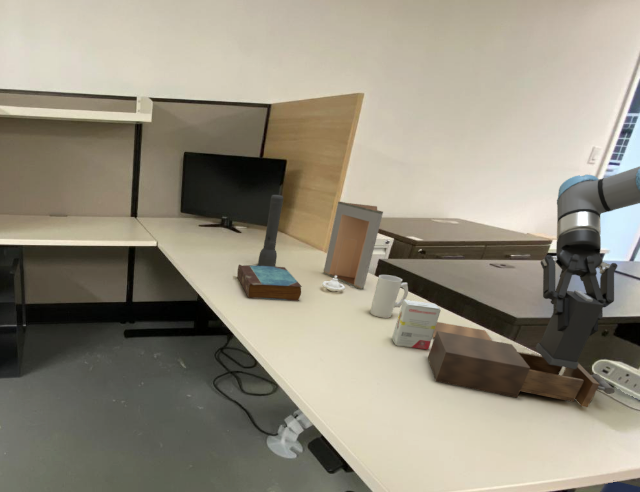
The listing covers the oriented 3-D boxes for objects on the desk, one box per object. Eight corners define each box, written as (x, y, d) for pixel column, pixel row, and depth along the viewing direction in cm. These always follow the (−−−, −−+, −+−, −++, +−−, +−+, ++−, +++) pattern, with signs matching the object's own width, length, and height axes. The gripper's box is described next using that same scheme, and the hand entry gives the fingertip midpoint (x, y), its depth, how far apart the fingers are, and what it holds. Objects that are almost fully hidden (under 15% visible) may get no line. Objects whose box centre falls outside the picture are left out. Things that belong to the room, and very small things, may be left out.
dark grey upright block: (560, 352, 107) (588, 290, 101) (576, 369, 100) (608, 302, 93) (535, 348, 109) (561, 286, 103) (549, 364, 101) (578, 298, 95)
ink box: (423, 343, 129) (436, 302, 124) (428, 350, 124) (442, 309, 119) (391, 338, 130) (402, 298, 125) (394, 345, 126) (407, 304, 121)
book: (236, 277, 173) (238, 264, 171) (283, 280, 174) (285, 267, 172) (247, 298, 153) (249, 283, 151) (300, 301, 154) (302, 286, 152)
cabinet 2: (500, 371, 115) (512, 344, 112) (517, 398, 104) (530, 368, 100) (427, 357, 120) (436, 330, 117) (435, 381, 108) (446, 352, 105)
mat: (484, 332, 140) (485, 330, 140) (496, 350, 128) (497, 348, 128) (426, 321, 144) (427, 320, 144) (433, 338, 132) (433, 336, 132)
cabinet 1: (323, 273, 188) (338, 201, 176) (341, 272, 192) (357, 201, 180) (360, 289, 171) (379, 211, 159) (379, 288, 174) (400, 211, 163)
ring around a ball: (329, 285, 172) (316, 288, 168) (333, 270, 170) (319, 273, 165) (348, 292, 167) (334, 295, 162) (352, 277, 164) (338, 280, 160)
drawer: (586, 385, 110) (598, 364, 107) (612, 412, 99) (625, 389, 97) (491, 367, 115) (500, 346, 113) (506, 390, 104) (515, 368, 102)
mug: (373, 317, 145) (383, 280, 139) (365, 309, 151) (375, 274, 146) (405, 319, 145) (416, 282, 140) (396, 312, 151) (407, 276, 146)
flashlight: (254, 264, 192) (265, 269, 186) (264, 194, 180) (276, 197, 175) (267, 263, 195) (278, 268, 190) (278, 194, 183) (290, 197, 178)
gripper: (613, 252, 106) (615, 345, 99) (525, 242, 111) (520, 330, 103) (636, 233, 99) (641, 331, 92) (541, 223, 104) (538, 315, 97)
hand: (577, 330), depth 98 cm, fingers closed on dark grey upright block, 4 cm apart
